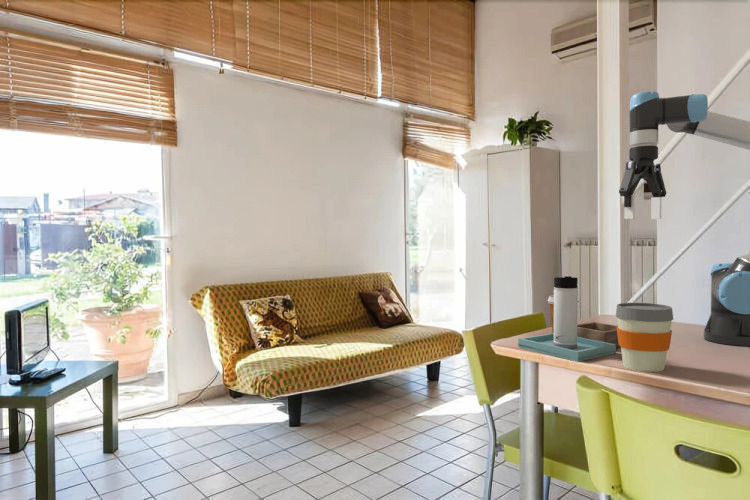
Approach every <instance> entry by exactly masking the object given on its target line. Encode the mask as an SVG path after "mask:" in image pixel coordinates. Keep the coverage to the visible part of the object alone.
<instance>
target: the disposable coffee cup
mask: <svg viewBox="0 0 750 500" xmlns="http://www.w3.org/2000/svg"><path fill="white" fill-rule="evenodd" d="M547 303H548V306H549V314H550V322H551V330H552V332H551V333H554V294H553V295H549V296H548V299H547ZM578 303H579V300H578Z"/></svg>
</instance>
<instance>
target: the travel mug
mask: <svg viewBox="0 0 750 500" xmlns="http://www.w3.org/2000/svg"><path fill="white" fill-rule="evenodd" d="M553 284H554V285H553V295H554V346H558V347H562V348H567V349H574V348H577V325H578V313H579V311H578V306H579V304H578V303H579V302H578V301H579V300H578V298H579V296H578V295H579V293H578V277H572V276H571V275H569V276H565V275H564V277H559V276H558V277H554V278H553Z"/></svg>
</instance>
